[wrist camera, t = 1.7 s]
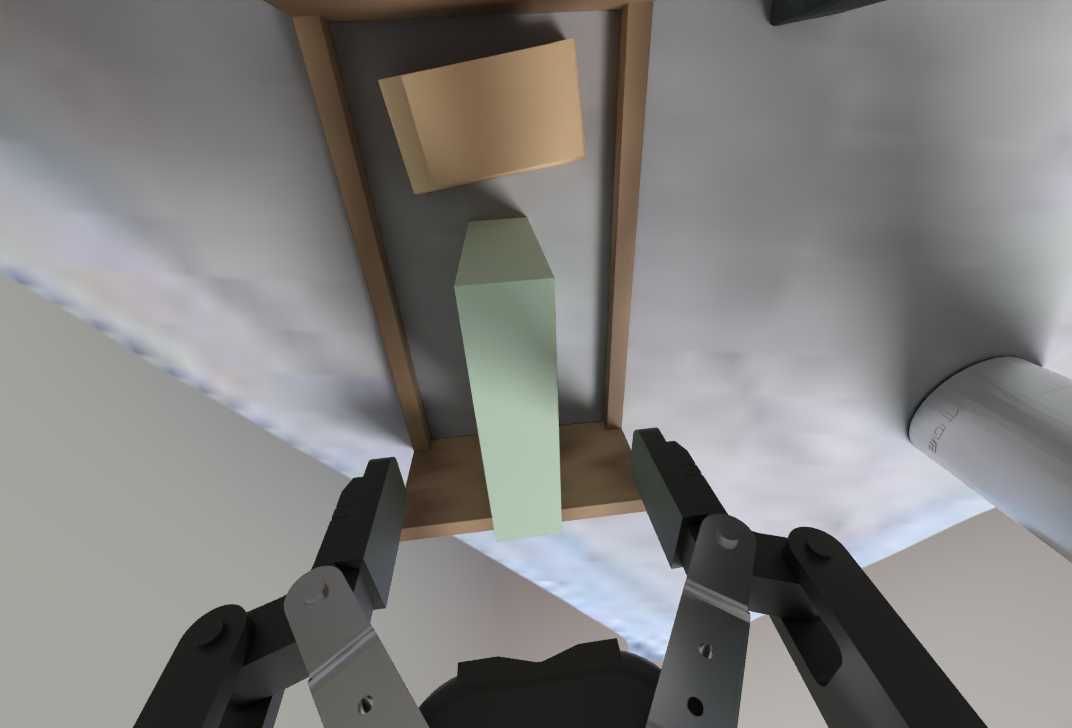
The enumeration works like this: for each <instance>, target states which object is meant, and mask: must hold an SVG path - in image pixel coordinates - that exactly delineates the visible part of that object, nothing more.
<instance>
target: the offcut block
mask: <svg viewBox="0 0 1072 728" xmlns="http://www.w3.org/2000/svg"><path fill="white" fill-rule="evenodd" d="M378 82H379V85H380V88H381V91H382V95H383V98H384V101H385V104H386V107H387V110H388V113H389V117H390V120H391V123H392V126H393V129H394V132H395V135H396V139H397V142H398V145H399V148H400V151H401V154H402V157H403V160H404V164H405V167H406V170H407V173H408V176H409V179H410V182H411V186H412V189H413V192H414V194H416V195H418V194H423V193H428V192H432V191H437V190H442V189H447V188H451V187H456V186H461V185H465V184H470V183H475V182H479V181H484V180H489V179H494V178H498V177H503V176H508V175H512V174H517V173H522V172H526V171H531V170H536V169H541V168H545V167H550V166H555V165H559V164H564V163H569V162H573V161H578V160H583V159H586V149H585V139H584V129H583V120H582V110H581V100H580V90H579V80H578V71H577V61H576V51H575V41H574V38H571V39H567V40H562V41H557V42H553V43H548V44H543V45H539V46H534V47H529V48H525V49H520V50H515V51H511V52H506V53H501V54H496V55H492V56H487V57H482V58H478V59H473V60H468V61H464V62H459V63H454V64H450V65H445V66H440V67H436V68H431V69H426V70H422V71H417V72H412V73H408V74H403V75H398V76H393V77H389V78H384V79H380V80H378Z"/></svg>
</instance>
